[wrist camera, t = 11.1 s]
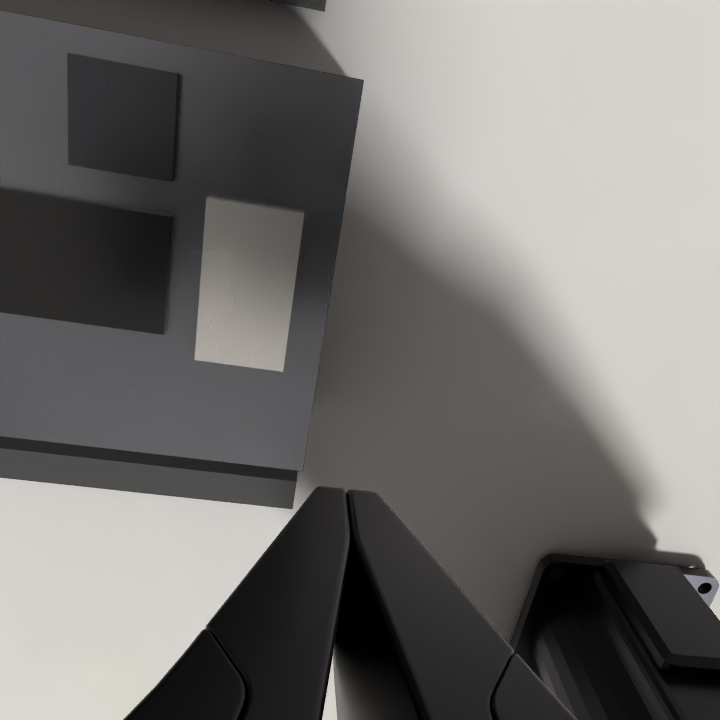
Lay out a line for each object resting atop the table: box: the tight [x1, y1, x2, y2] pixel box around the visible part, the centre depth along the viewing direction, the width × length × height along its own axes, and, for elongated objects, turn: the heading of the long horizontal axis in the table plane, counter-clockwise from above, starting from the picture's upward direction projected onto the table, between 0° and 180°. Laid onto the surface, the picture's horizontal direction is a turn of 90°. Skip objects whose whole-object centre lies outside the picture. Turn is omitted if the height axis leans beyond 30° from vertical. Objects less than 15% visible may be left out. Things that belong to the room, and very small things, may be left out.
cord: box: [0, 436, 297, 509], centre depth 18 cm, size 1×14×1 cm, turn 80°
